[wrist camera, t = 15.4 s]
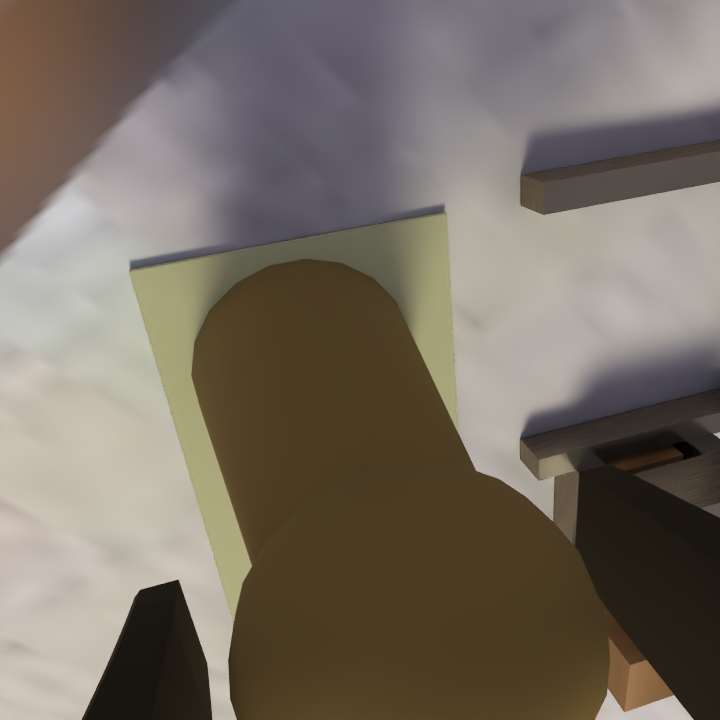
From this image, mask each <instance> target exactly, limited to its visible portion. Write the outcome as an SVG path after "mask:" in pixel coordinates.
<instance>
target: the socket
mask: <svg viewBox="0 0 720 720" xmlns="http://www.w3.org/2000/svg"><path fill="white" fill-rule="evenodd" d="M715 182H720V140H718V141H713V142H707V143H701V144H695V145H690V146H684V147H678V148H673V149H667V150H661V151H656V152H650V153H644V154H638V155H633V156H627V157H621V158H616V159H610V160H604V161H599V162H593V163H587V164H582V165H576V166H570V167H564V168H559V169H553V170H547V171H542V172H536V173H530V174H525V175H521V206H523V207H526V208H528V209H531V210H533V211H536V212H538V213H540V214H543V215H545V214H551V213H556V212H561V211H567V210H572V209H577V208H582V207H588V206H593V205H598V204H604V203H609V202H614V201H620V200H625V199H630V198H635V197H641V196H646V195H651V194H657V193H662V192H667V191H673V190H678V189H683V188H688V187H694V186H699V185H704V184H710V183H715ZM718 432H720V389H716V390H712V391H708V392H704V393H700V394H696V395H692V396H688V397H685V398H681V399H677V400H673V401H669V402H665V403H661V404H657V405H653V406H649V407H645V408H641V409H637V410H633V411H630V412H626V413H622V414H618V415H614V416H610V417H606V418H602V419H598V420H594V421H590V422H586V423H582V424H578V425H574V426H571V427H567V428H563V429H559V430H555V431H551V432H547V433H543V434H539V435H535V436H531V437H527V438H523V439H520V459H521V461H522V462H523V463H524V464H525V465H526V467H527V468H528V469H529V470H530V471H531V472H532V474H533V475H534V476H535V477H536V478H537V479H538V481H539V480H543V479H546V478H550V477H554V476H555V498H554V523H555V524H556V525H557V526H558V528H559V529H560V530H561V531H562V532H563V533H564V535H565V536H566V537H567V538H568V539H569V541H570V542H571V543H572V544H573V545H574V547H575V539H576V521H577V503H578V485H579V472H581V471H584V470H588V469H592V468H596V467H599V466H603V465H606V464H605V463H606V462H610V461H613V460H617V459H621V458H625V457H628V456H632V455H636V454H640V453H643V452H647V451H651V450H654V449H658V448H662V447H666V446H669V445H672V446H673V447H675V448H676V449H677V450H678V451H680V452H681V453H682V454H683V455H684V456H683V460H682V461H678V462H674V463H671V464H667V465H664V466H660V467H656V468H653V469H649V470H645V471H642V472H638V473H634V474H633V475H635V476H637V477H639V478H641V479H643V480H645V481H647V482H649V483H651V484H653V485H655V486H657V487H659V488H661V489H663V490H665V491H667V492H669V493H671V494H673V495H675V496H677V497H679V498H681V499H683V500H685V501H687V502H689V503H691V504H693V505H695V506H697V507H699V508H701V509H703V510H705V511H707V512H709V513H711V514H713V515H715V516H718V517H720V439H719V438H718V437H716V436H715V435H714V433H718Z"/></svg>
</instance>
